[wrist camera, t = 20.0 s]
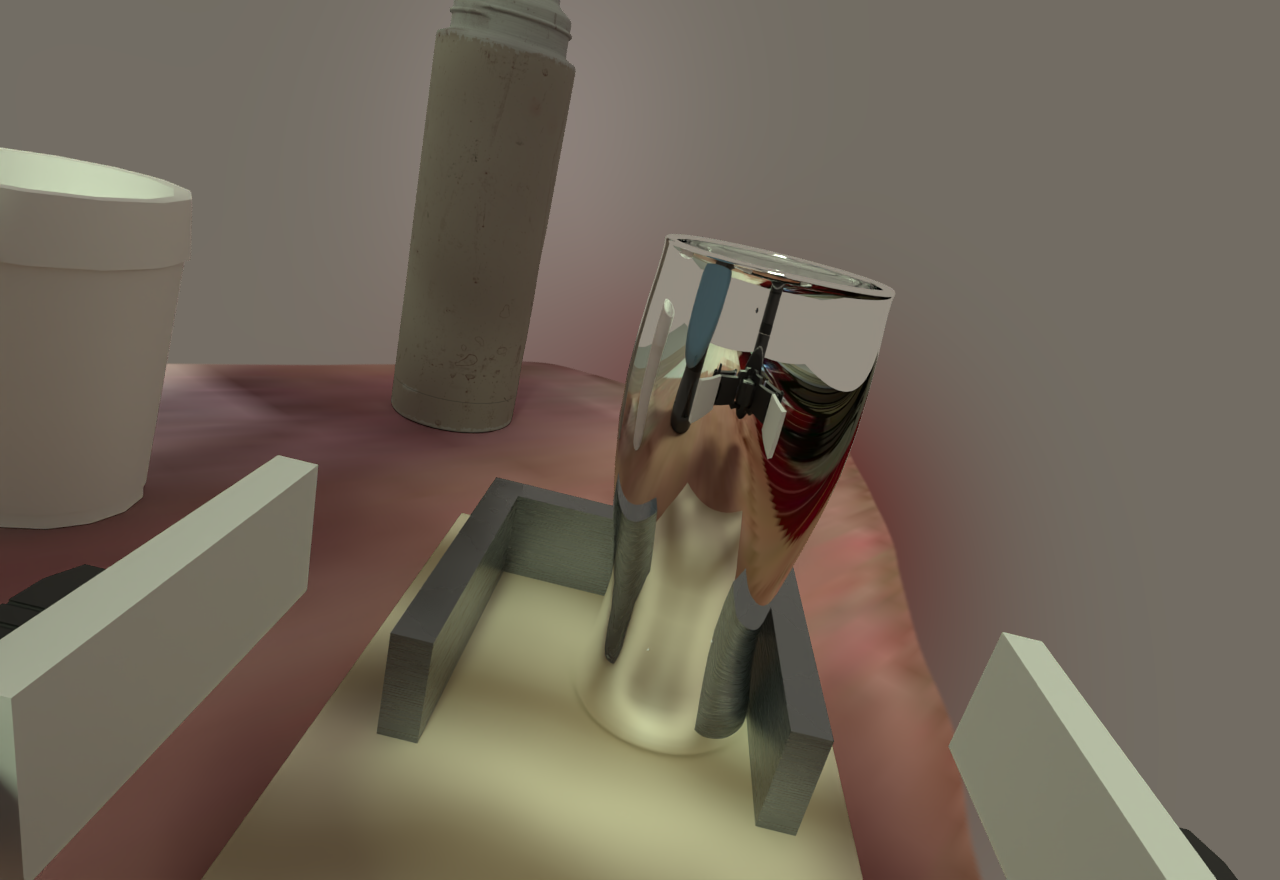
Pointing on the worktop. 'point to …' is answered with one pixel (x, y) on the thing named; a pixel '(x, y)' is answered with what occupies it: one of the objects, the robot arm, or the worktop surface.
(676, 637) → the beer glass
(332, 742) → the board
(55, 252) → the foam cup
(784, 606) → the bracket
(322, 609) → the worktop surface
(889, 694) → the worktop surface
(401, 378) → the thermos bottle
